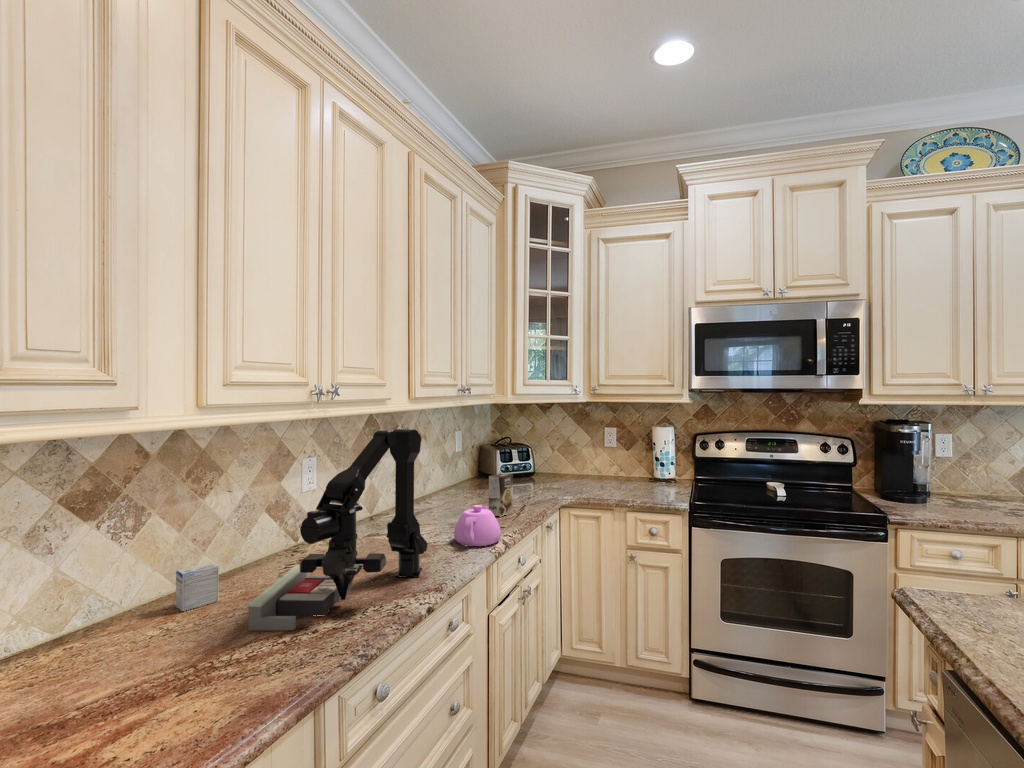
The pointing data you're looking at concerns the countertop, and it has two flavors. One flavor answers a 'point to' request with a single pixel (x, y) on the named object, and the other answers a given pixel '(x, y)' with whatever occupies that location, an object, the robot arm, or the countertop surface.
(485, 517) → the teapot
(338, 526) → the robot arm
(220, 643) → the countertop surface
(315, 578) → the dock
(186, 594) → the medicine box
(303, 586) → the calculator
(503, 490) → the coffee box
